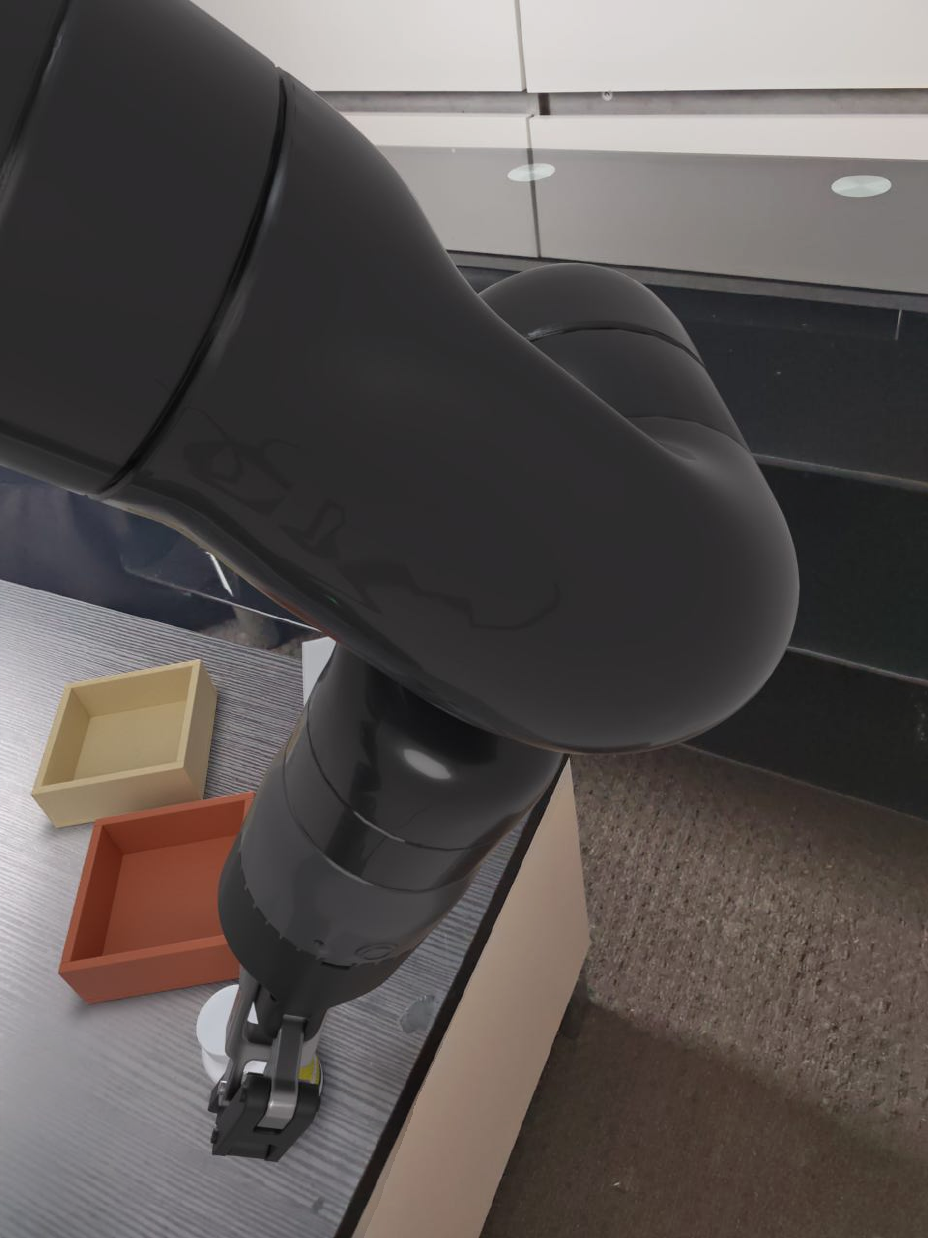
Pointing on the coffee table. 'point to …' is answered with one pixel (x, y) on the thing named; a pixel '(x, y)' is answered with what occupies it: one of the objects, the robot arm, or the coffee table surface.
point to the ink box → (314, 661)
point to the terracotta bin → (153, 901)
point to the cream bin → (128, 744)
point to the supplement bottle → (214, 1035)
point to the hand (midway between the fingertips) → (250, 1005)
